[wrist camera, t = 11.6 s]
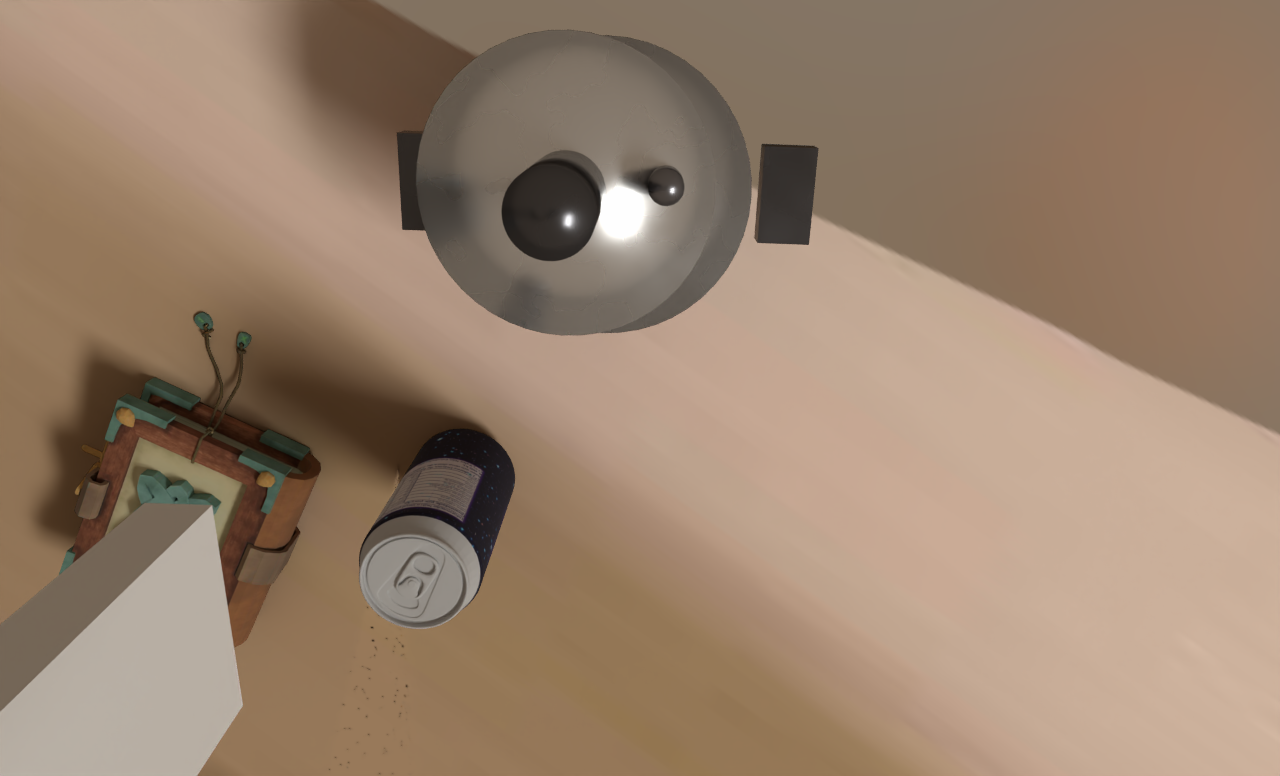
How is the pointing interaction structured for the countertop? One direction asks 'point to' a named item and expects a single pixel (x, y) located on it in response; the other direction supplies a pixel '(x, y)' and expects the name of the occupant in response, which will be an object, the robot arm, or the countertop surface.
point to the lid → (566, 182)
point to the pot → (779, 187)
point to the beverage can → (437, 530)
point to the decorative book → (202, 482)
